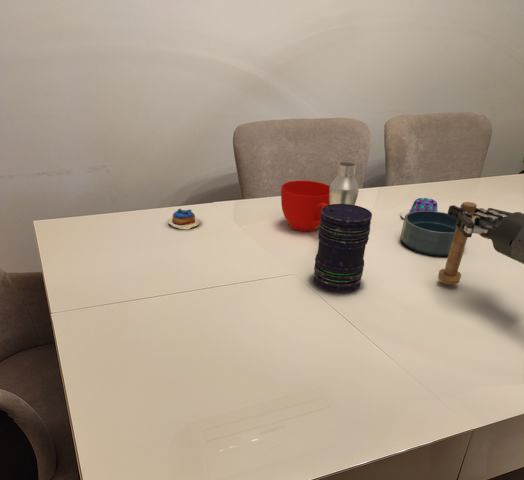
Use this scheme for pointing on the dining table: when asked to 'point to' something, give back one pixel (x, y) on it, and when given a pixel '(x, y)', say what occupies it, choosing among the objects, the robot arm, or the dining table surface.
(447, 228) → the bowl
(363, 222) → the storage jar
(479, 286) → the dining table surface
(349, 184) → the silver bottle
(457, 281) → the stirring stick
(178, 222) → the dessert
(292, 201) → the ceramic cup
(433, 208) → the purple patterned hat
